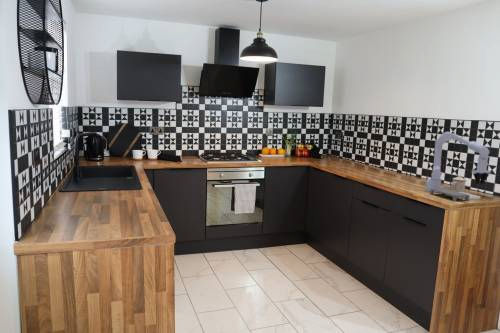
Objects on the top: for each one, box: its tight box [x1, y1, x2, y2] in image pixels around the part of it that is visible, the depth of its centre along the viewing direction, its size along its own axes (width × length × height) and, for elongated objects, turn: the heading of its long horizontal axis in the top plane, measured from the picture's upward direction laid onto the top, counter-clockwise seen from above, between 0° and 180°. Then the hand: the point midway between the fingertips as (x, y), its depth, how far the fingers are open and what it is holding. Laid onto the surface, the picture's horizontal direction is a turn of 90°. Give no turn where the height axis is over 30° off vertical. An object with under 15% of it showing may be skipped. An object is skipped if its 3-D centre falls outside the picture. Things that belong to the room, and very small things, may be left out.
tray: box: [457, 191, 482, 201], centre depth 269 cm, size 12×15×2 cm
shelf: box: [429, 187, 470, 203], centre depth 265 cm, size 12×22×4 cm, turn 17°
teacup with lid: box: [450, 175, 467, 192], centre depth 290 cm, size 12×9×12 cm
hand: (479, 183), depth 272 cm, fingers open, 4 cm apart
